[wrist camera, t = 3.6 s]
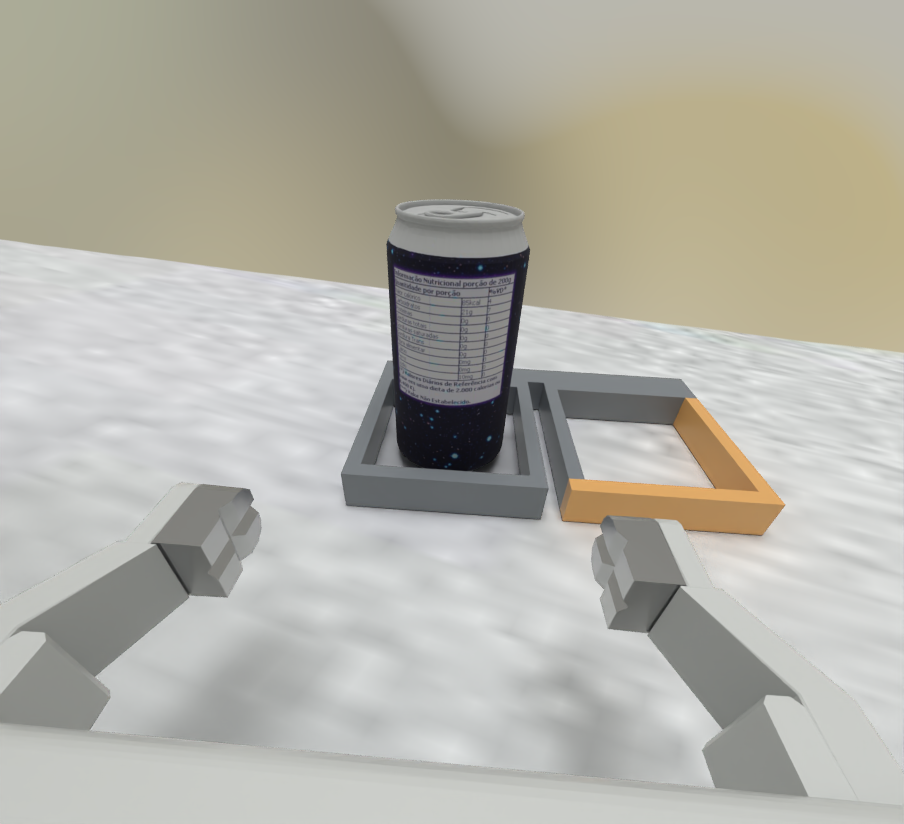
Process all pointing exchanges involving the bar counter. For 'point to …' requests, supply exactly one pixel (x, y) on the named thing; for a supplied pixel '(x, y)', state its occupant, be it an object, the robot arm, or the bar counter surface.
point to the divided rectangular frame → (572, 459)
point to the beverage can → (454, 327)
